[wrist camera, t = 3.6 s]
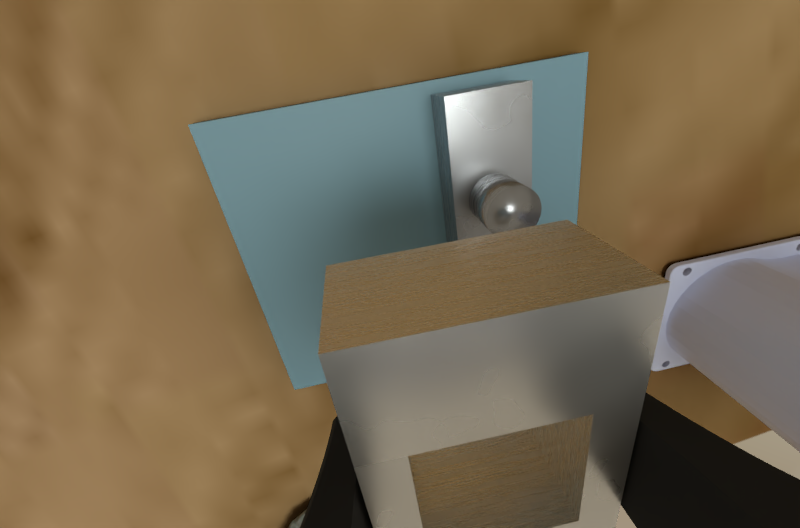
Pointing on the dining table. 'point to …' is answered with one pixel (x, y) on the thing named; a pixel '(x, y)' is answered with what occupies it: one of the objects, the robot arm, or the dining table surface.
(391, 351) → the silver block with hole
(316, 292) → the board
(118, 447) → the dining table surface
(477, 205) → the metal knob block
